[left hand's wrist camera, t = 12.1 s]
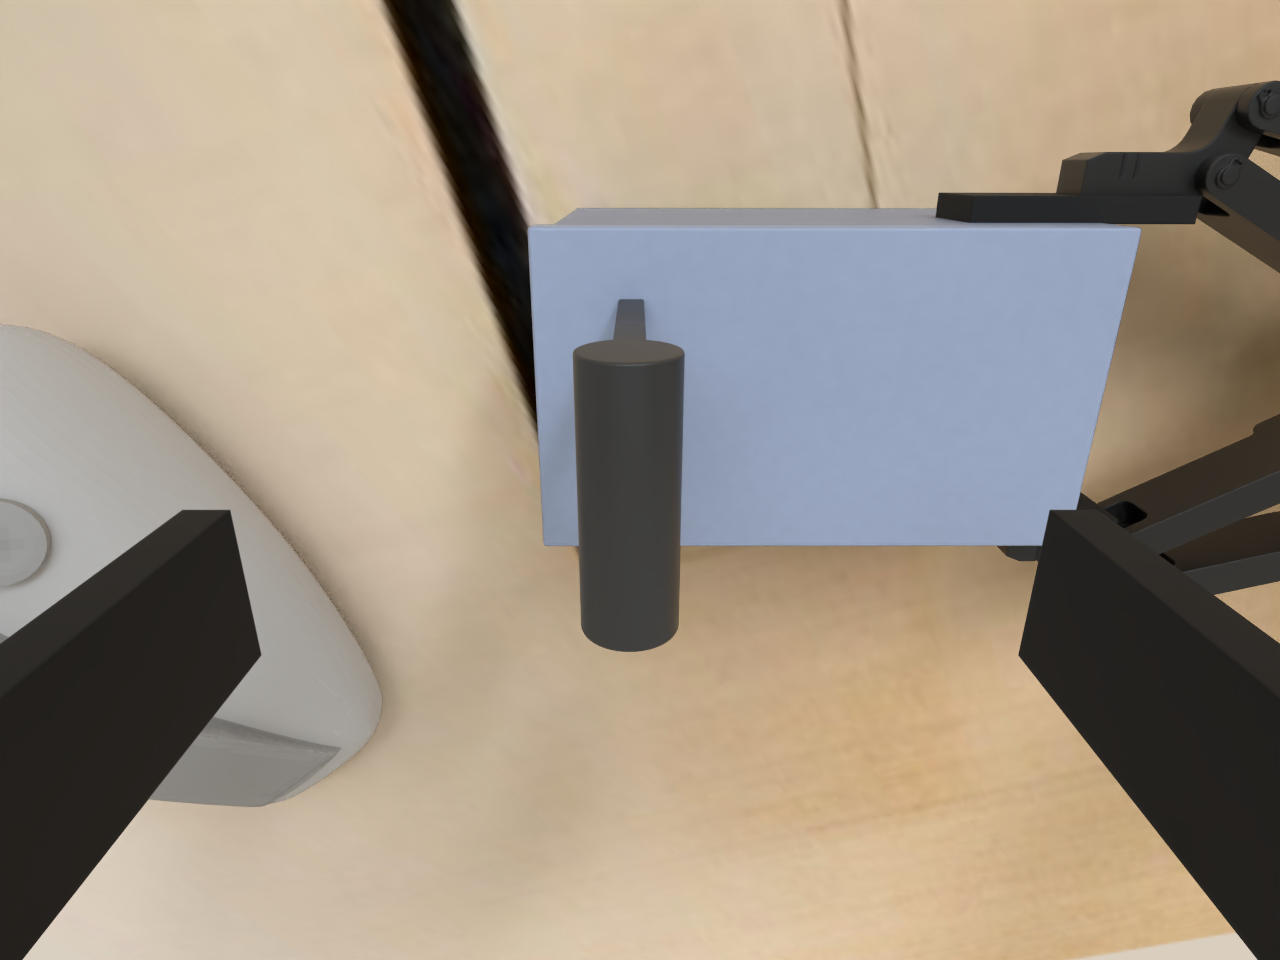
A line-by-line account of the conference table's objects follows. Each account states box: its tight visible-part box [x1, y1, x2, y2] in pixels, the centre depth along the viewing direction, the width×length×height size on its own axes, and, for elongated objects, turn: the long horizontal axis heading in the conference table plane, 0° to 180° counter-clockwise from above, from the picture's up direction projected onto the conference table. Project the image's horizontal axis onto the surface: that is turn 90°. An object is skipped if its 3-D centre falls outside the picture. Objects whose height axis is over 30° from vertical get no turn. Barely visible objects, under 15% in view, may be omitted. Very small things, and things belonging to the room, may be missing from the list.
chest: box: [554, 208, 1114, 225], centre depth 27 cm, size 16×9×9 cm, turn 90°
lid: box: [528, 225, 1141, 652], centre depth 19 cm, size 16×9×9 cm, turn 90°
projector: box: [0, 325, 382, 807], centre depth 28 cm, size 22×23×15 cm
